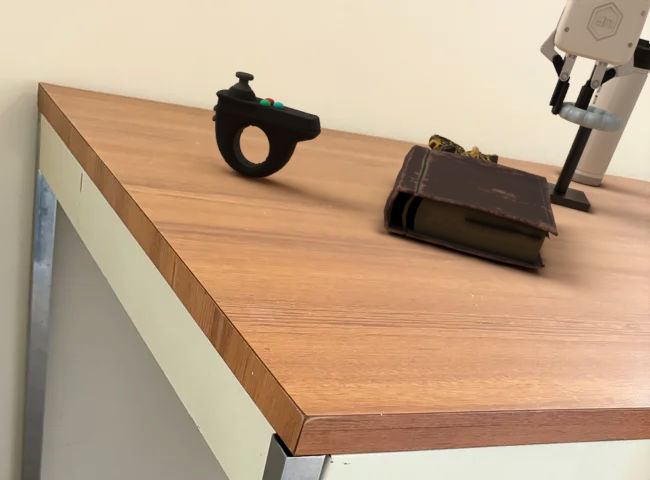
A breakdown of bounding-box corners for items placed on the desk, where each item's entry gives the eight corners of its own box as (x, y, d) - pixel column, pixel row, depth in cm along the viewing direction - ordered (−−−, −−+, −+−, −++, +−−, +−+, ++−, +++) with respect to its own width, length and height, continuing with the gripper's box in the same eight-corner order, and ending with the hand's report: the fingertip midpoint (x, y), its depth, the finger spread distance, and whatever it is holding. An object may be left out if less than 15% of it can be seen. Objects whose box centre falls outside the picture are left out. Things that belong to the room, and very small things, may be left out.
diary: (377, 230, 88) (391, 182, 85) (397, 180, 108) (409, 140, 105) (548, 278, 87) (568, 230, 84) (536, 218, 107) (553, 178, 104)
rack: (580, 198, 122) (615, 118, 116) (587, 212, 116) (624, 128, 109) (528, 184, 123) (559, 103, 116) (532, 197, 116) (565, 112, 110)
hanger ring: (613, 126, 117) (619, 112, 115) (623, 137, 110) (630, 123, 108) (552, 110, 117) (558, 96, 116) (558, 120, 110) (564, 106, 109)
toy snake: (439, 113, 126) (500, 136, 126) (426, 144, 129) (487, 166, 128) (431, 138, 112) (500, 163, 112) (417, 172, 115) (485, 197, 115)
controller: (213, 159, 98) (228, 65, 92) (310, 189, 96) (332, 95, 90) (199, 166, 95) (214, 68, 89) (300, 196, 93) (322, 99, 87)
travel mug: (603, 183, 135) (665, 44, 123) (595, 188, 130) (657, 44, 118) (567, 171, 137) (624, 33, 125) (557, 175, 132) (615, 33, 120)
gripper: (567, -61, 100) (508, 105, 111) (697, -30, 99) (625, 135, 110) (560, -61, 105) (506, 97, 117) (683, -31, 105) (617, 125, 116)
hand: (564, 114), depth 113 cm, fingers closed on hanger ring, 2 cm apart
